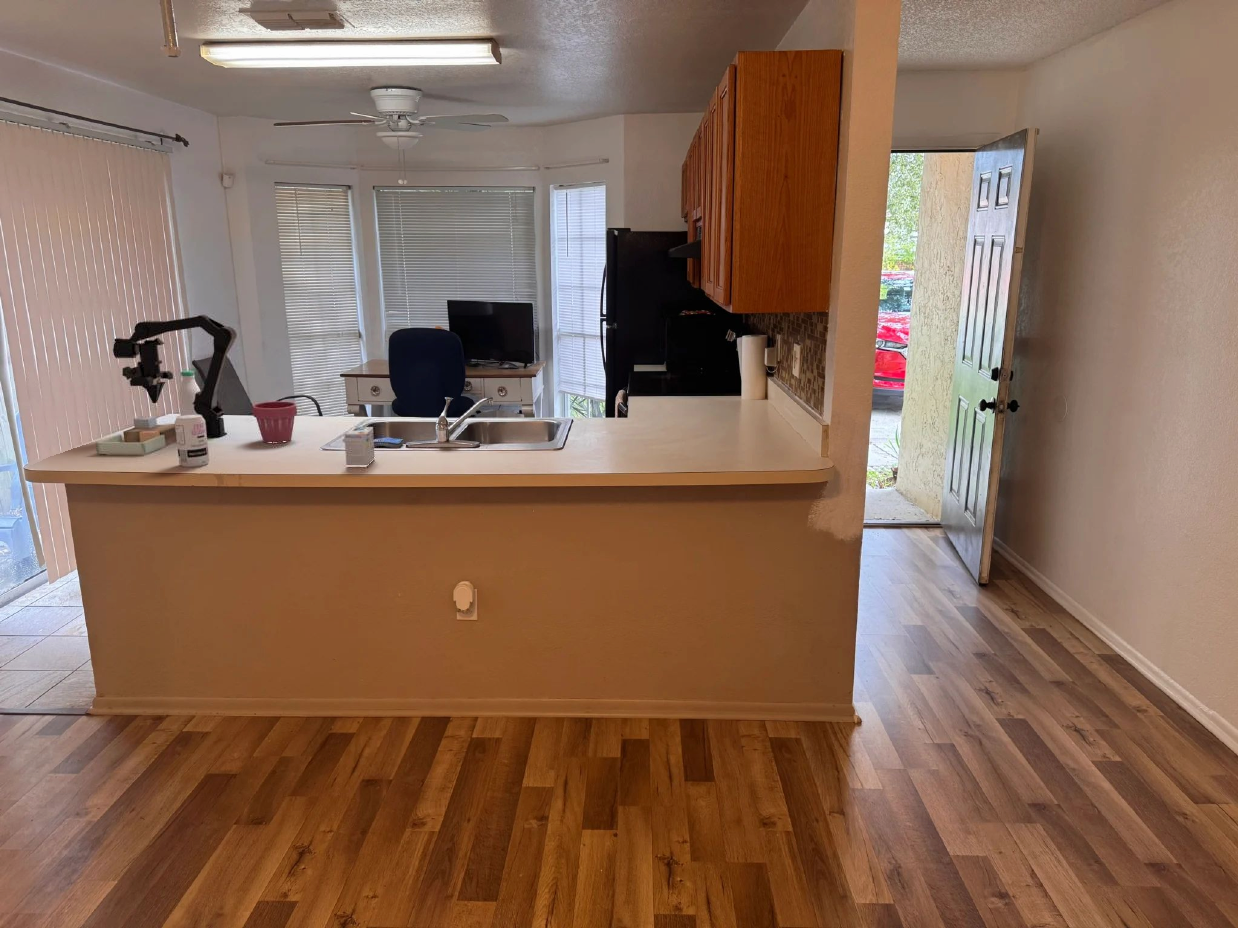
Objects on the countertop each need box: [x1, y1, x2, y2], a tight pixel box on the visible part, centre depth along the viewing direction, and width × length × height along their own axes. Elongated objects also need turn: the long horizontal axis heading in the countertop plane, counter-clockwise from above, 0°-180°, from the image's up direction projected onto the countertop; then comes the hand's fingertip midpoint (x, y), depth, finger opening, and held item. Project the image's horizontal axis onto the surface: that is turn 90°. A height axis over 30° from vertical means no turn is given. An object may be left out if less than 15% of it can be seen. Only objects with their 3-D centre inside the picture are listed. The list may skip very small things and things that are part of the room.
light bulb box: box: [344, 426, 375, 466], centre depth 261 cm, size 11×7×11 cm, turn 4°
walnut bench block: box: [122, 424, 177, 447], centre depth 287 cm, size 13×12×5 cm
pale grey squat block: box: [133, 416, 158, 428], centre depth 288 cm, size 5×5×3 cm
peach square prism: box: [139, 431, 160, 443], centre depth 279 cm, size 5×5×3 cm
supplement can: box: [174, 414, 210, 468], centre depth 257 cm, size 8×8×15 cm
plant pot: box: [252, 400, 298, 444], centre depth 291 cm, size 14×14×13 cm
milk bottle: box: [178, 370, 201, 416], centre depth 318 cm, size 8×8×20 cm
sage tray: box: [95, 434, 167, 457], centre depth 275 cm, size 15×13×4 cm
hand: (154, 403), depth 293 cm, fingers closed
